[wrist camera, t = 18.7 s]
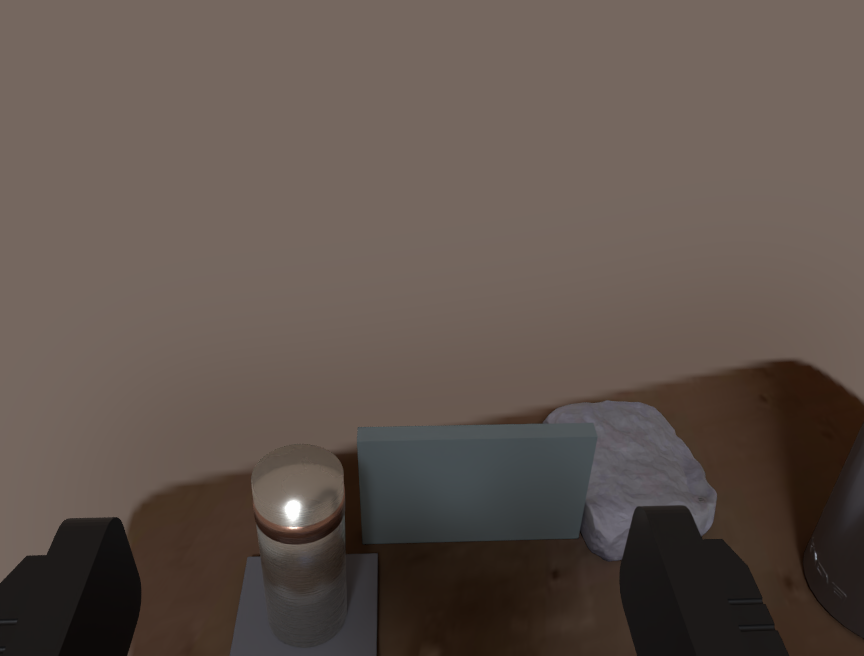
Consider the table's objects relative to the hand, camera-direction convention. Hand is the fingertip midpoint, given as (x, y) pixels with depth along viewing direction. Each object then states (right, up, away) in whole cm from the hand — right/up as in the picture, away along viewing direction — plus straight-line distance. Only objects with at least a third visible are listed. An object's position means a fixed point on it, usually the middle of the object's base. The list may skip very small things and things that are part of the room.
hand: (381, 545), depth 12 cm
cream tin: (-6, -13, +32) cm, 35 cm away
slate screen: (+3, -10, +38) cm, 39 cm away
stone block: (+14, -8, +42) cm, 45 cm away
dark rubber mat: (-6, -14, +33) cm, 36 cm away
